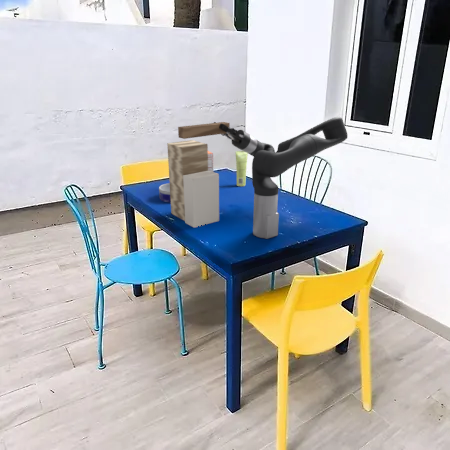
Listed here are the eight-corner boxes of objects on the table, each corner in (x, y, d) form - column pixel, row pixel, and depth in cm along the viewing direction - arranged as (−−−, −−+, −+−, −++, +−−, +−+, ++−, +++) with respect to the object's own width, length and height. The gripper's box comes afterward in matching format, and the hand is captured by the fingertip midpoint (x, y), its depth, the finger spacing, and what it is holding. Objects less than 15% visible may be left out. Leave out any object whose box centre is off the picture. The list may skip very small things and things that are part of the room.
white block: (219, 220, 170) (218, 173, 162) (194, 227, 163) (192, 179, 155) (209, 216, 176) (209, 170, 168) (185, 222, 168) (183, 175, 160)
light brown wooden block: (229, 132, 162) (229, 122, 160) (184, 138, 149) (183, 128, 148) (223, 131, 164) (223, 121, 163) (178, 137, 152) (178, 126, 151)
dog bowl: (193, 200, 196) (193, 189, 194) (163, 204, 191) (162, 192, 189) (184, 192, 209) (184, 181, 207) (156, 195, 204) (155, 184, 202)
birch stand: (208, 214, 177) (207, 144, 165) (185, 221, 170) (182, 147, 158) (194, 207, 186) (192, 140, 174) (171, 213, 179) (167, 143, 167)
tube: (239, 183, 224) (239, 149, 216) (247, 184, 221) (248, 150, 214) (235, 186, 219) (235, 151, 212) (243, 187, 217) (243, 152, 209)
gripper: (251, 152, 165) (223, 135, 154) (231, 147, 176) (203, 131, 164) (258, 136, 165) (231, 118, 153) (237, 131, 176) (210, 114, 164)
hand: (216, 125), depth 159 cm, fingers closed on light brown wooden block, 4 cm apart
